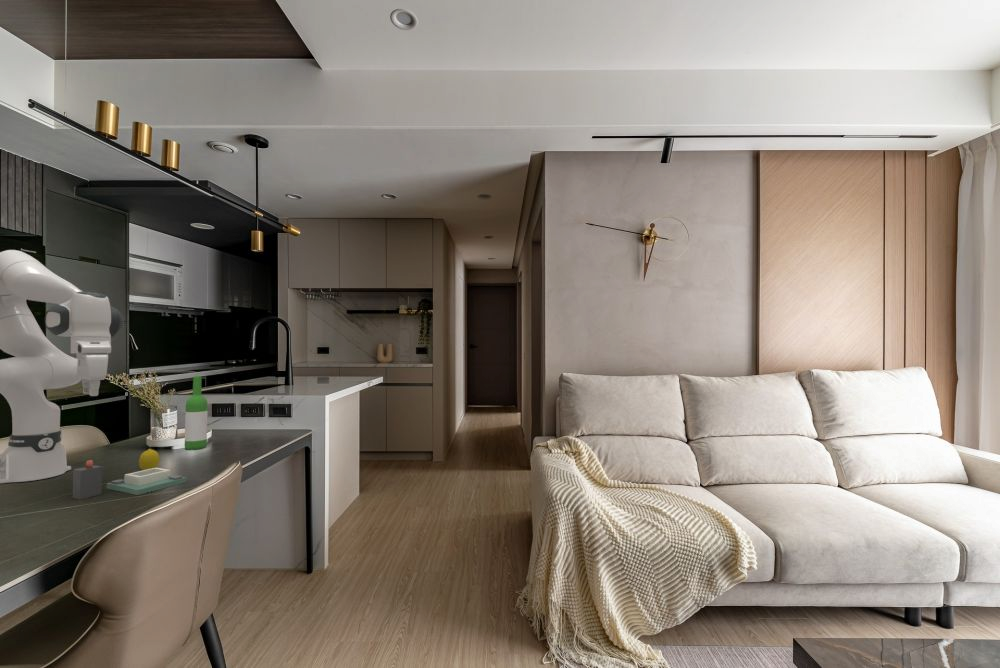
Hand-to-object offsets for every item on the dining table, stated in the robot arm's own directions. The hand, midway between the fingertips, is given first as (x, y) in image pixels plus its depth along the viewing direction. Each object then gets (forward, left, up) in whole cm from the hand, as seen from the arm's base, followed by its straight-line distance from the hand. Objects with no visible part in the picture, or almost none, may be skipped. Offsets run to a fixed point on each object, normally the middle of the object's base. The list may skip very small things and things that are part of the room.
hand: (90, 394), depth 136 cm
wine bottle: (-30, +52, -29) cm, 67 cm away
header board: (+6, +12, -29) cm, 32 cm away
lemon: (-8, +21, -29) cm, 37 cm away
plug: (+2, -1, -29) cm, 29 cm away
